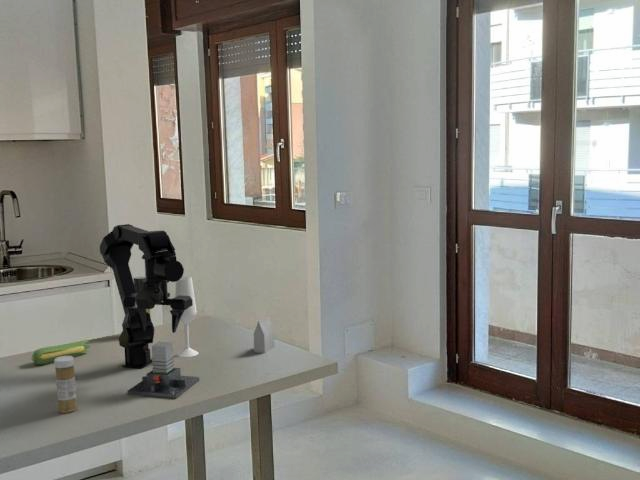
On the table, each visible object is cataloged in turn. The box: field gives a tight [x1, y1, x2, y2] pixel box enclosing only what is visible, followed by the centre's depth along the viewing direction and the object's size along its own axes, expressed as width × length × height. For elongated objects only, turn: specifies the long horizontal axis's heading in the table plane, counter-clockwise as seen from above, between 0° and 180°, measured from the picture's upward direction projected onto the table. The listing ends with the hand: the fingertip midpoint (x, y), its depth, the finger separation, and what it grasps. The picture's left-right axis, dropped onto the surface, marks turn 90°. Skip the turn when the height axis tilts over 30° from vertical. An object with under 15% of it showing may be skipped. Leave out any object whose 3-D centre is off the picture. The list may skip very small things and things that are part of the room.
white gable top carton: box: [253, 316, 275, 354], centre depth 223 cm, size 4×7×10 cm, turn 158°
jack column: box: [151, 341, 175, 375], centre depth 190 cm, size 4×4×8 cm
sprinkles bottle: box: [53, 356, 78, 414], centre depth 175 cm, size 5×5×14 cm
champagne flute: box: [174, 275, 199, 358], centre depth 219 cm, size 7×7×24 cm
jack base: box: [126, 367, 200, 399], centre depth 191 cm, size 14×14×4 cm
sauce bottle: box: [132, 276, 152, 318], centre depth 242 cm, size 6×6×20 cm
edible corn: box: [31, 339, 91, 366], centre depth 218 cm, size 5×20×5 cm
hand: (159, 331), depth 198 cm, fingers open, 9 cm apart
